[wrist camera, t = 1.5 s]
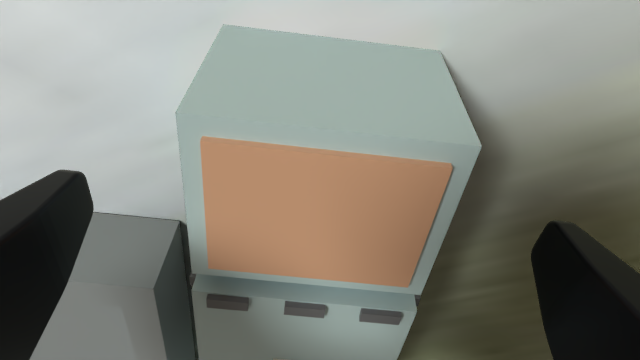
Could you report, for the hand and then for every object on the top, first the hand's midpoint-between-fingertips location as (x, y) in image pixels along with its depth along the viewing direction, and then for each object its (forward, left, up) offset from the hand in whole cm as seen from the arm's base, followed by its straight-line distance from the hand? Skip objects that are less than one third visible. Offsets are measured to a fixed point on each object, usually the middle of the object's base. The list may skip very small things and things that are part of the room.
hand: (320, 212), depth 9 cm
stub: (0, 0, -4) cm, 4 cm away
